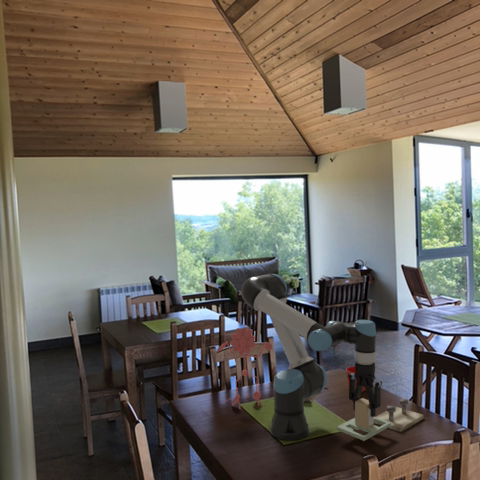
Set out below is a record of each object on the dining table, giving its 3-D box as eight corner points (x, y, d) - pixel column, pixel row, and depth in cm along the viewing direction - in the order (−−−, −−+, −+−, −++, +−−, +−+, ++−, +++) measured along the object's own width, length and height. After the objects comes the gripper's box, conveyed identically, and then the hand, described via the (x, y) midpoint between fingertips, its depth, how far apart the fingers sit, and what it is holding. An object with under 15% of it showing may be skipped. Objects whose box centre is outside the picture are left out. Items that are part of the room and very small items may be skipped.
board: (371, 422, 201) (371, 405, 200) (395, 409, 213) (394, 394, 212) (400, 432, 191) (400, 414, 191) (423, 418, 203) (423, 402, 203)
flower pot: (371, 387, 241) (371, 368, 240) (364, 394, 231) (364, 374, 231) (350, 384, 246) (350, 364, 246) (343, 390, 237) (342, 371, 236)
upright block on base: (336, 429, 185) (337, 403, 185) (364, 415, 197) (364, 391, 197) (364, 440, 176) (364, 413, 176) (390, 425, 188) (391, 399, 188)
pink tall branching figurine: (277, 403, 223) (274, 327, 222) (223, 413, 214) (219, 333, 213) (263, 393, 237) (261, 321, 236) (212, 402, 228) (209, 327, 227)
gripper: (391, 365, 181) (390, 426, 183) (350, 354, 194) (350, 411, 196) (380, 369, 176) (379, 432, 178) (339, 358, 189) (338, 417, 191)
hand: (364, 421), depth 187 cm, fingers closed on upright block on base, 5 cm apart
